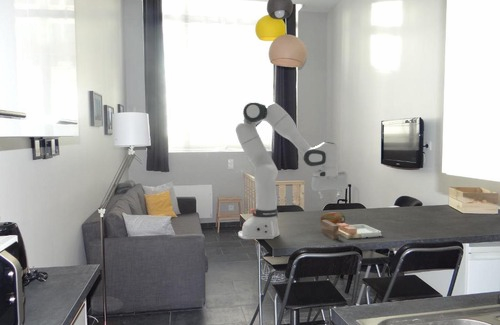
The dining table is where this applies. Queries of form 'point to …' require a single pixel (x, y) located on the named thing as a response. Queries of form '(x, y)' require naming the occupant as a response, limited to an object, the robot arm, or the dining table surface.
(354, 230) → the tile
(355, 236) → the board
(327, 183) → the robot arm
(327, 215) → the tin
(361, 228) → the tray
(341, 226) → the tile
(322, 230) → the tall tan block
